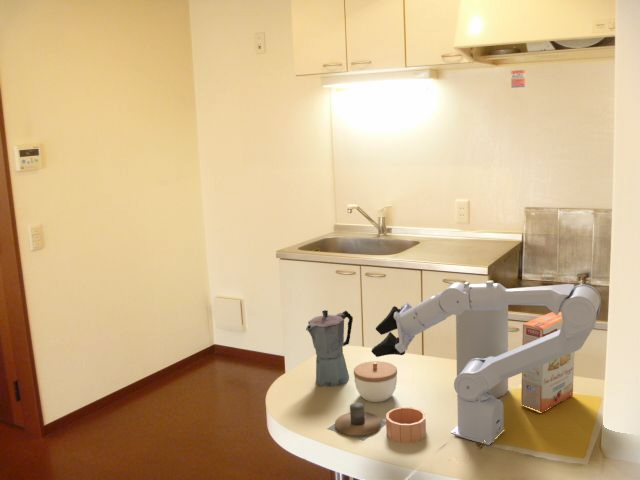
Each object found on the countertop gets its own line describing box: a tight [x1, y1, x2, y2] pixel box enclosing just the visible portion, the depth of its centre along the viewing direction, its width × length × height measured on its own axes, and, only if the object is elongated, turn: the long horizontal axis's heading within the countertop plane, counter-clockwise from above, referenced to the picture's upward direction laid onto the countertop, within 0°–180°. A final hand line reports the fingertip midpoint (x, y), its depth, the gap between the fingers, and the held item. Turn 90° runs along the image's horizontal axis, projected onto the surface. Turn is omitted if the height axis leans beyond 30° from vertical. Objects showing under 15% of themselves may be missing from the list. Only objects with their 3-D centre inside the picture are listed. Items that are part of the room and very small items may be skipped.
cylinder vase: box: [455, 305, 509, 399], centre depth 166 cm, size 12×12×25 cm
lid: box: [334, 402, 382, 437], centre depth 152 cm, size 10×10×5 cm
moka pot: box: [305, 310, 354, 387], centre depth 177 cm, size 10×15×20 cm, turn 132°
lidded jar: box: [353, 360, 398, 403], centre depth 166 cm, size 11×11×9 cm
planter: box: [385, 406, 427, 444], centre depth 148 cm, size 9×9×4 cm
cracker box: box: [520, 311, 575, 413], centre depth 158 cm, size 14×6×21 cm, turn 129°
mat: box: [326, 419, 386, 441], centre depth 153 cm, size 10×10×1 cm
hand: (376, 342), depth 154 cm, fingers open, 7 cm apart
